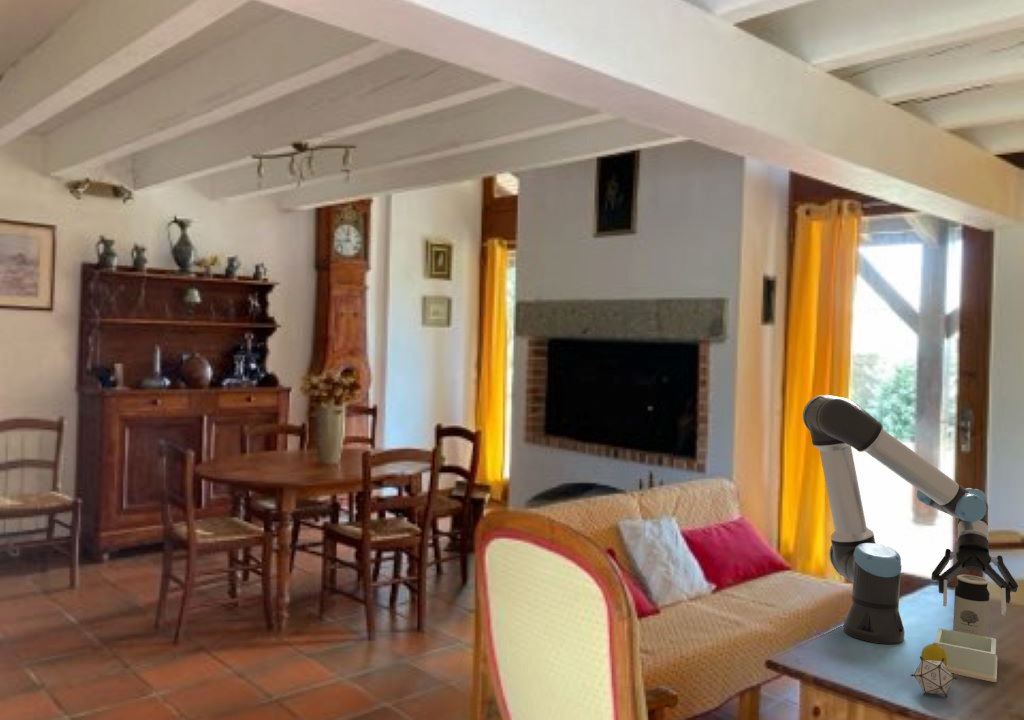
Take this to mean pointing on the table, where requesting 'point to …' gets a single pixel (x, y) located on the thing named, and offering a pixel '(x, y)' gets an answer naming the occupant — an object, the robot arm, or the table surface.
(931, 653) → the lemon
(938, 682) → the game die
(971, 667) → the holder
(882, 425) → the robot arm
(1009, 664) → the table surface
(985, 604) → the travel mug
